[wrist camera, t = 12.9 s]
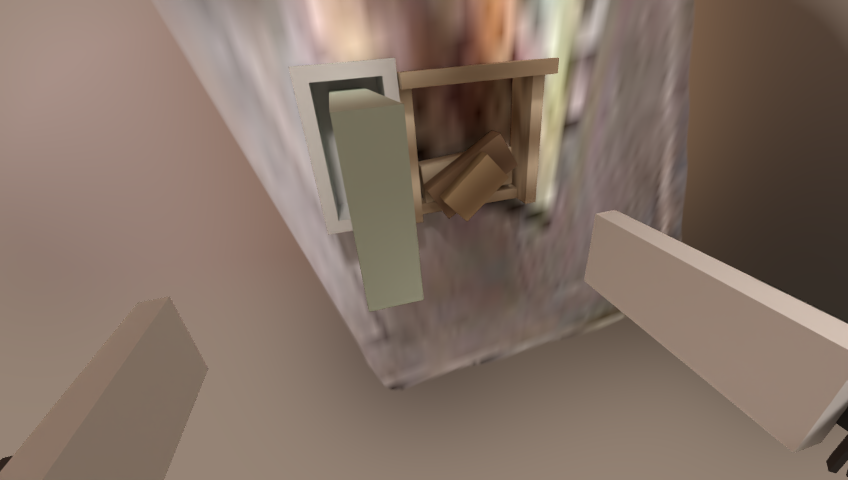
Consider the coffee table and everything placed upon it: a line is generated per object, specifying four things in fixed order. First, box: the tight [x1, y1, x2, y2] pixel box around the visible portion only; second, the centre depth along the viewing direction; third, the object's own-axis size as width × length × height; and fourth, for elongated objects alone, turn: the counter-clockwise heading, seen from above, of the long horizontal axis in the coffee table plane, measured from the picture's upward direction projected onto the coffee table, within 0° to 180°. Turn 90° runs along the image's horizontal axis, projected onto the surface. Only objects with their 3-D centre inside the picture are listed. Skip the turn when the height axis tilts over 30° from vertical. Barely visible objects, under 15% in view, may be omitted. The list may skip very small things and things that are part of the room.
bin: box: [289, 58, 400, 235], centre depth 32 cm, size 14×8×5 cm, turn 6°
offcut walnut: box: [423, 130, 518, 219], centre depth 35 cm, size 4×9×2 cm, turn 127°
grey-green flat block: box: [329, 87, 424, 312], centre depth 25 cm, size 3×10×20 cm, turn 6°
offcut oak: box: [440, 151, 509, 221], centre depth 34 cm, size 4×6×2 cm, turn 137°
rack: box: [397, 58, 559, 223], centre depth 34 cm, size 14×14×6 cm
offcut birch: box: [418, 146, 512, 203], centre depth 37 cm, size 4×10×2 cm, turn 99°
